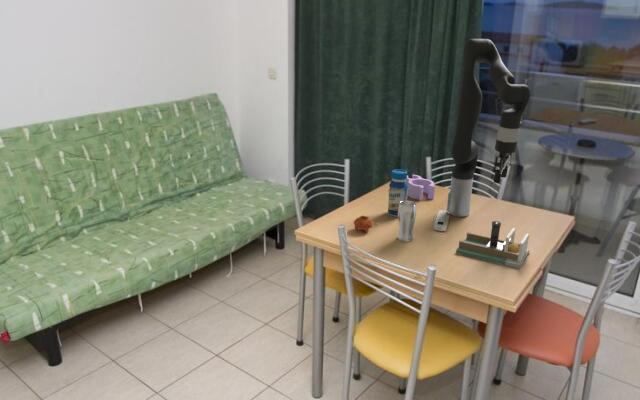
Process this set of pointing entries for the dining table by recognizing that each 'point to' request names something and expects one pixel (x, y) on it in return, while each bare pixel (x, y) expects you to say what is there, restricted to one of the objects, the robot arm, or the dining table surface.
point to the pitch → (478, 249)
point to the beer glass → (406, 220)
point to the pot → (363, 223)
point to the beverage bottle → (397, 191)
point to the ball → (513, 248)
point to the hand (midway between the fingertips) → (499, 179)
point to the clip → (420, 187)
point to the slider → (496, 237)
